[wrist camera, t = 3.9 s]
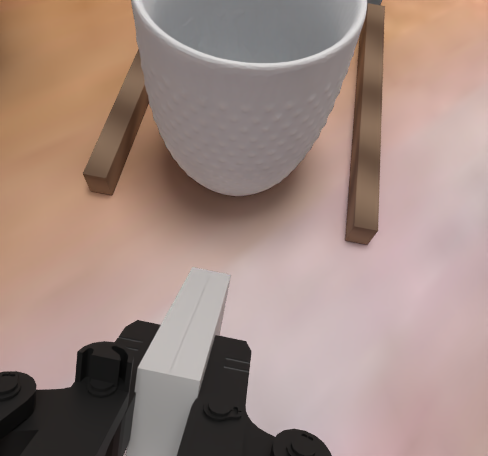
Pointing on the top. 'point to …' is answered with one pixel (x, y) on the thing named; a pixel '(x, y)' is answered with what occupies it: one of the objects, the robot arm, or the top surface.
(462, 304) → the top surface
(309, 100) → the mug
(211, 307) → the robot arm
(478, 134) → the top surface
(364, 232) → the channel
